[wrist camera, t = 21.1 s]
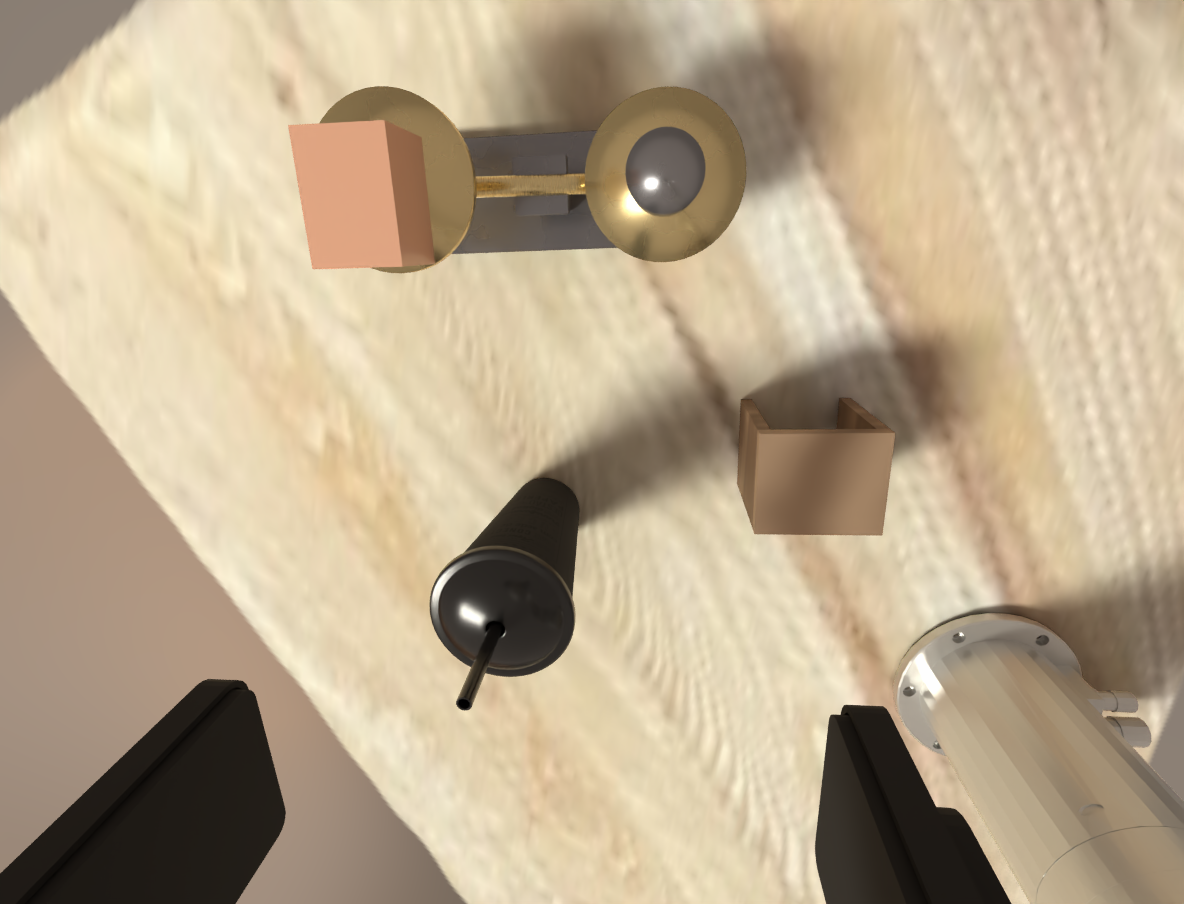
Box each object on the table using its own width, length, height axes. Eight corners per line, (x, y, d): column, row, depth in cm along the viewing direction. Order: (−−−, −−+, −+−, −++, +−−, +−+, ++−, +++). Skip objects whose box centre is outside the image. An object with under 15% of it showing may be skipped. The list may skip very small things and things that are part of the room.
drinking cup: (545, 437, 42) (457, 591, 23) (620, 512, 43) (592, 715, 25) (473, 503, 44) (339, 693, 26) (546, 573, 46) (470, 802, 27)
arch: (850, 398, 39) (895, 433, 32) (841, 483, 41) (882, 535, 34) (740, 399, 40) (760, 433, 33) (737, 483, 42) (754, 534, 35)
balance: (732, 110, 35) (762, 59, 25) (727, 257, 37) (752, 261, 28) (386, 132, 37) (292, 92, 27) (403, 268, 39) (323, 275, 30)
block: (384, 119, 24) (402, 266, 25) (421, 137, 27) (435, 264, 29) (288, 125, 24) (312, 269, 26) (337, 141, 28) (356, 266, 30)
